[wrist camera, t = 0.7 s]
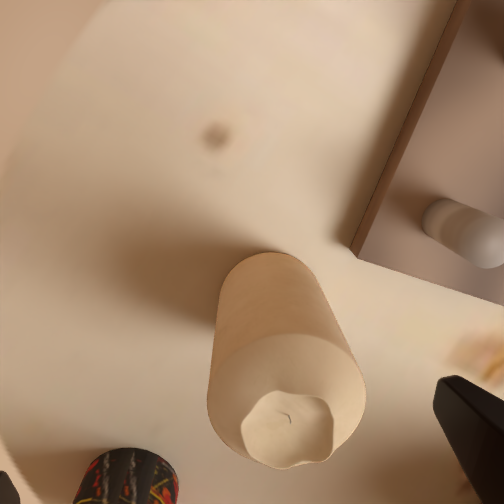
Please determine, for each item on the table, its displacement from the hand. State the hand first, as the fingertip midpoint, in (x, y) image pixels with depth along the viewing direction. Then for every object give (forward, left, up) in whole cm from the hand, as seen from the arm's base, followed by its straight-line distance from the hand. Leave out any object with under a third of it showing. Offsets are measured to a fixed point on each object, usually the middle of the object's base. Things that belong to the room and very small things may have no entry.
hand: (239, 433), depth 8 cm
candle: (-3, +3, -14) cm, 14 cm away
